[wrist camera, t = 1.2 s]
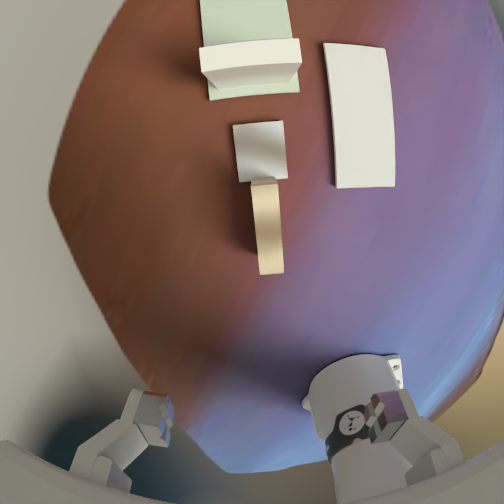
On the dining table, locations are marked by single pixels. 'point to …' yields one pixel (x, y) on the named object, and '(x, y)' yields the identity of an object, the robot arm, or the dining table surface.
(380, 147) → the pad
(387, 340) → the dining table surface
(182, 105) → the dining table surface
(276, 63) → the tile
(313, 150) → the dining table surface
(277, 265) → the turner
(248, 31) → the mat
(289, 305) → the dining table surface
